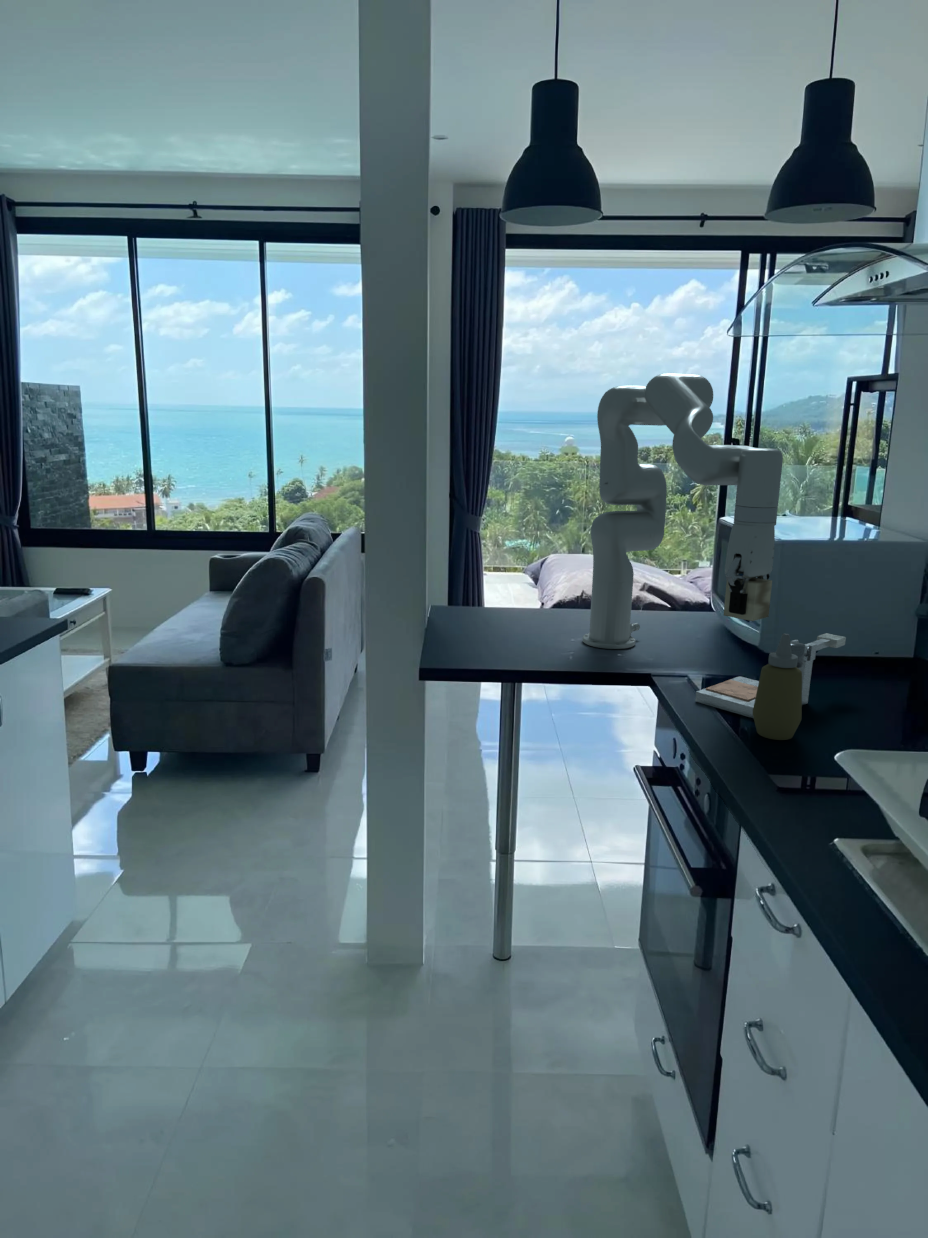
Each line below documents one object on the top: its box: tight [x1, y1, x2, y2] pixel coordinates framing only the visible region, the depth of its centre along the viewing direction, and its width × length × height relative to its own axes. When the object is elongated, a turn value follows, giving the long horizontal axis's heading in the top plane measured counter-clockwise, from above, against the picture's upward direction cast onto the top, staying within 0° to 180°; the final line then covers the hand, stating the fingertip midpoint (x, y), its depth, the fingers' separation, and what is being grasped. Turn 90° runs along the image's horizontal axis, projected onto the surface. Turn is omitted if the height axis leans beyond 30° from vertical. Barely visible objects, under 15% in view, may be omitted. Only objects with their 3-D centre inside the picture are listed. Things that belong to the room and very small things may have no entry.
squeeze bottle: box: [753, 633, 803, 741], centre depth 148 cm, size 8×8×18 cm
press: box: [694, 639, 817, 719], centre depth 166 cm, size 16×15×12 cm
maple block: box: [723, 577, 773, 622], centre depth 164 cm, size 6×6×7 cm
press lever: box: [790, 632, 847, 668], centre depth 168 cm, size 21×4×4 cm, turn 133°
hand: (746, 610), depth 164 cm, fingers closed on maple block, 6 cm apart
